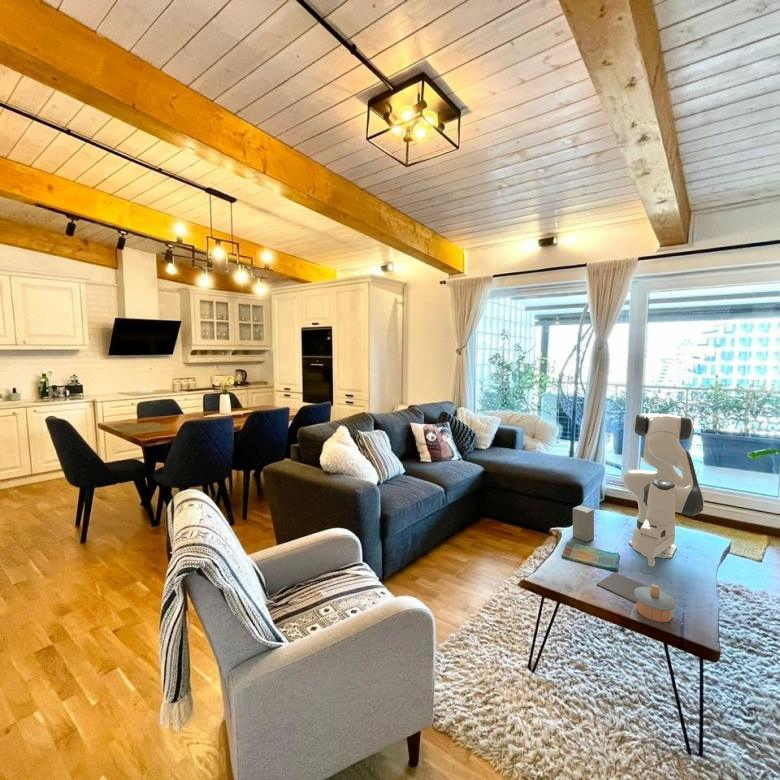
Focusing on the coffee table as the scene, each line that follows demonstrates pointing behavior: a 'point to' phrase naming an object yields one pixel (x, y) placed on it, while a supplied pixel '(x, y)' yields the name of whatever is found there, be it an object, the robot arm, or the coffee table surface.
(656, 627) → the coffee table surface
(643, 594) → the lid
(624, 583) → the mat
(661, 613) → the bowl
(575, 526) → the skincare box
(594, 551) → the dish towel
